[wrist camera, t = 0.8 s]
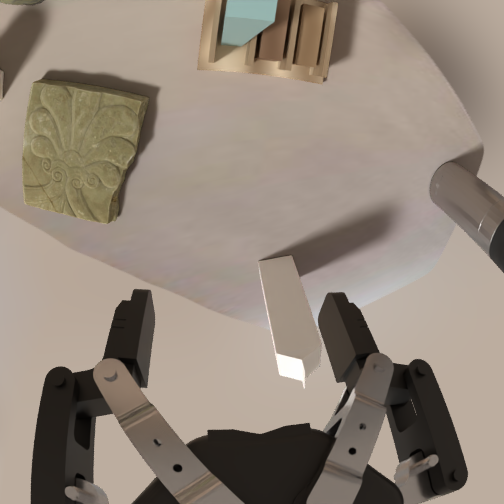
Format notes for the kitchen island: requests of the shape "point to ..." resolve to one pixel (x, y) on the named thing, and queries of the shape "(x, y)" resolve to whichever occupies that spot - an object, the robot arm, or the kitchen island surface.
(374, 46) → the kitchen island surface
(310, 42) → the oak offcut
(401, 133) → the kitchen island surface
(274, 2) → the teal board
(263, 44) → the walnut offcut
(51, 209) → the decorative tile
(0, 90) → the jar
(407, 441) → the robot arm
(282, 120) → the kitchen island surface
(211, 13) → the beech rack
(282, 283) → the milk
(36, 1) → the thermos
